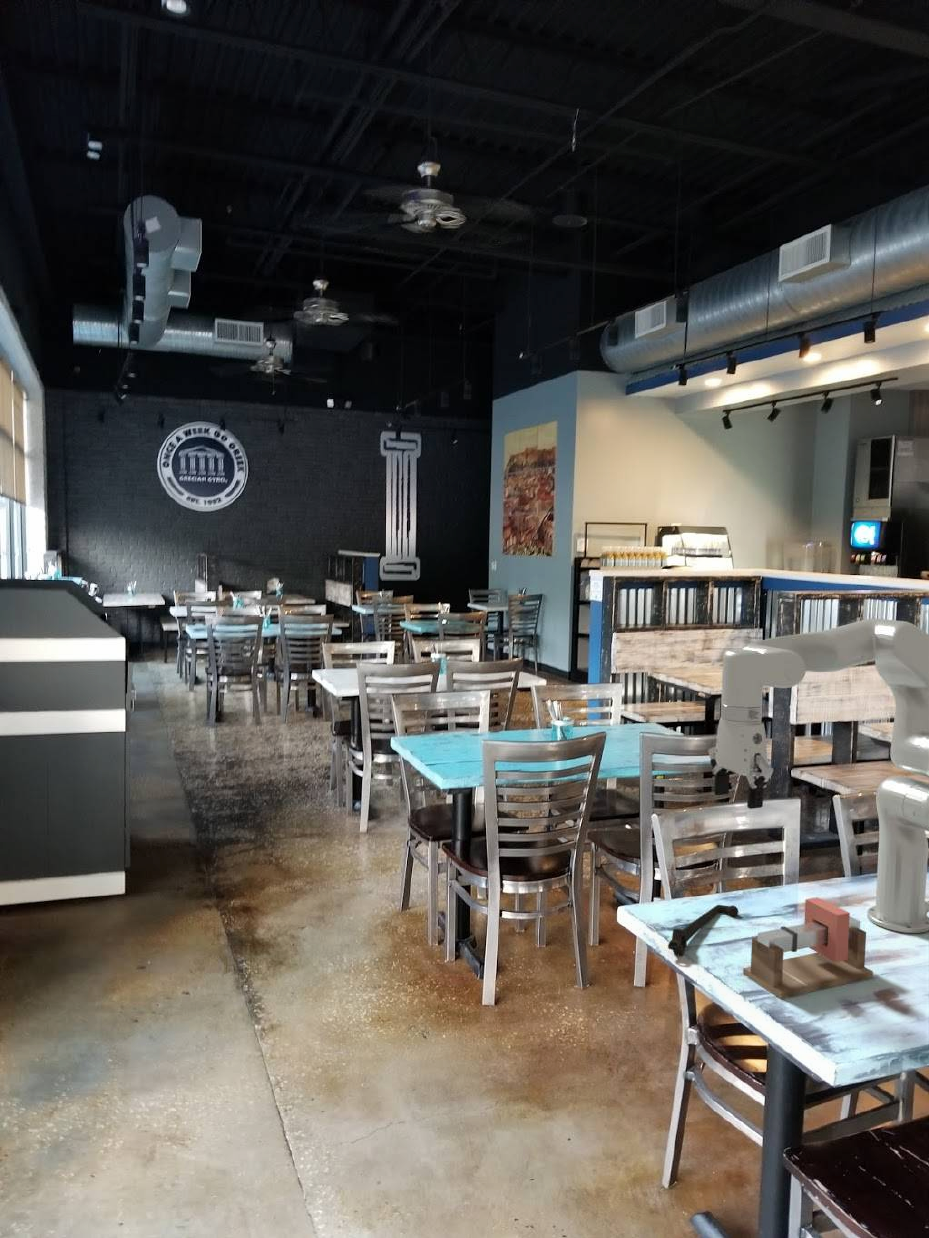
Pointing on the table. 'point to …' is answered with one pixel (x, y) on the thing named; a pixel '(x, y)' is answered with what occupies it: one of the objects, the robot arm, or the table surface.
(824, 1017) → the table surface
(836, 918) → the salmon pink rectangular block
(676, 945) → the wrench
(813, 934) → the rod
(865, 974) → the pipe stand
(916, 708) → the robot arm
